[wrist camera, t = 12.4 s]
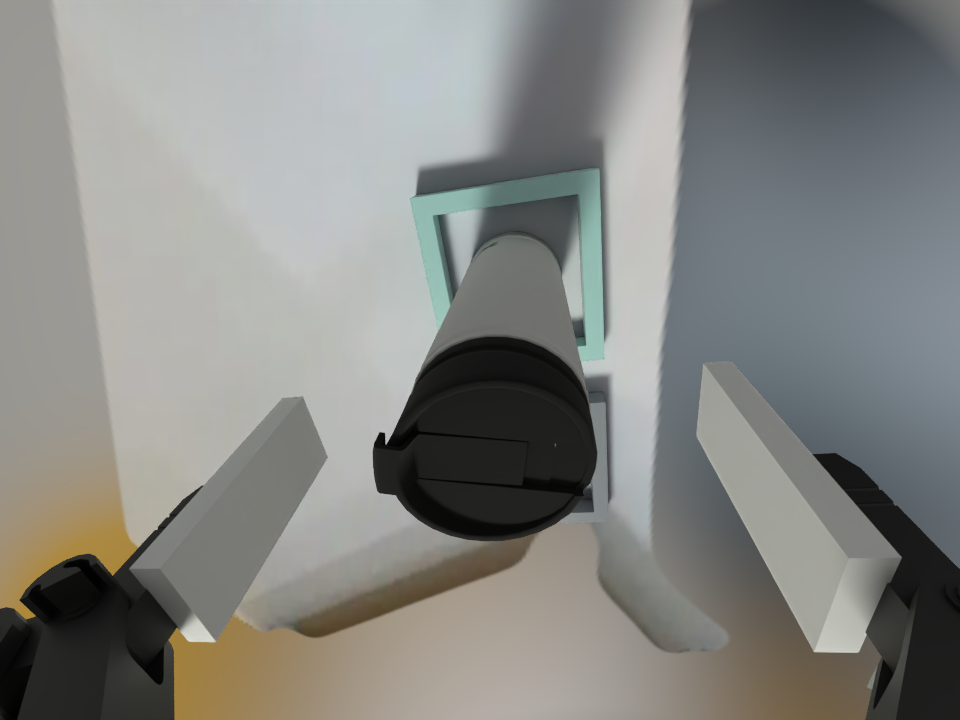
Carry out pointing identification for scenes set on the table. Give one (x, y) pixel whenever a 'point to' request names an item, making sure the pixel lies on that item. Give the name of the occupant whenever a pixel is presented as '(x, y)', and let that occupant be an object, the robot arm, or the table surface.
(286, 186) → the table surface
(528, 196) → the frame
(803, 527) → the robot arm
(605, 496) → the frame
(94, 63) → the table surface
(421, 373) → the travel mug
